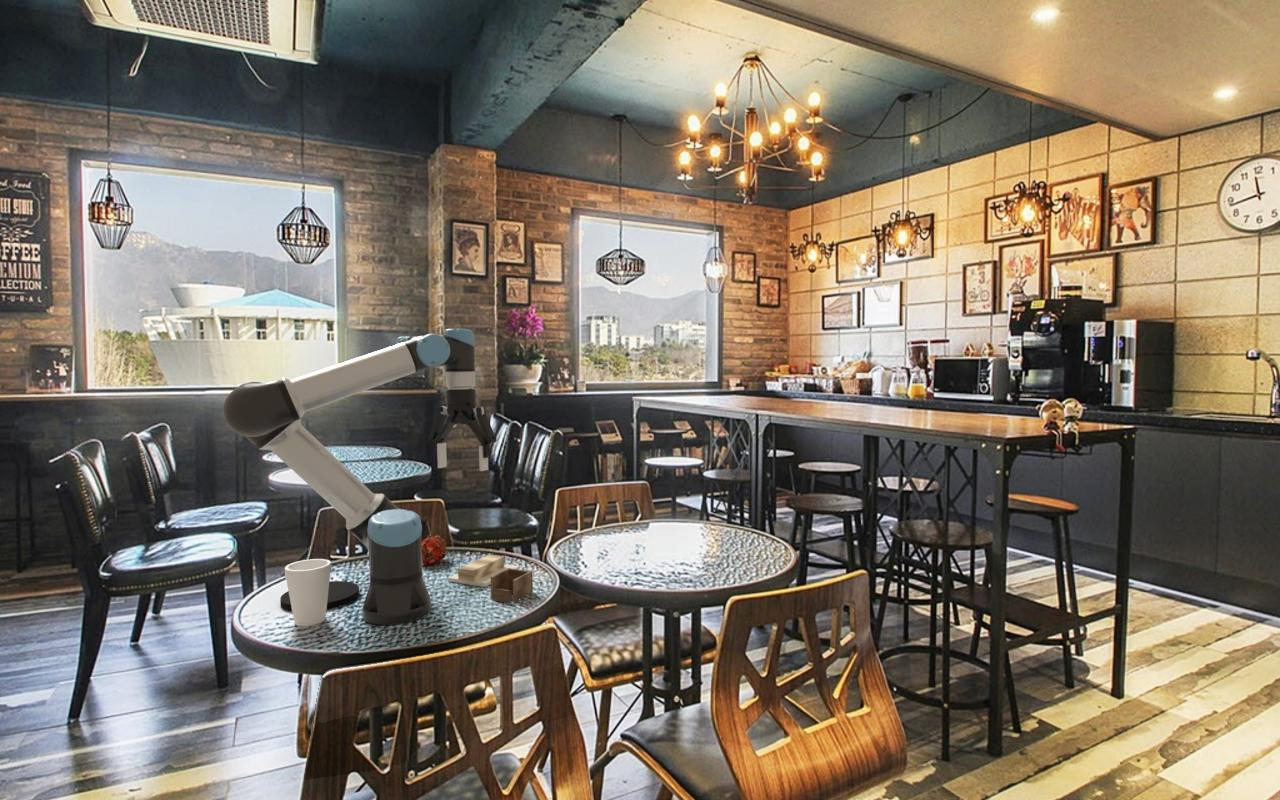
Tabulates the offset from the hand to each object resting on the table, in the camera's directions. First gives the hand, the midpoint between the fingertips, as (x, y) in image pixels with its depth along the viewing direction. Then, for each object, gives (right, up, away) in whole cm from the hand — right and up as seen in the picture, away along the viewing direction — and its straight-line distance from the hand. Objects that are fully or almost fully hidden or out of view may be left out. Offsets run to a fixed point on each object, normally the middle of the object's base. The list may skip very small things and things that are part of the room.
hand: (462, 469), depth 179 cm
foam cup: (-29, -33, -23) cm, 49 cm away
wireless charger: (-33, -32, -9) cm, 47 cm away
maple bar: (+3, -29, +8) cm, 30 cm away
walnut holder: (+14, -31, -8) cm, 35 cm away
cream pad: (+4, -30, +9) cm, 32 cm away
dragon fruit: (-14, -30, +21) cm, 39 cm away
